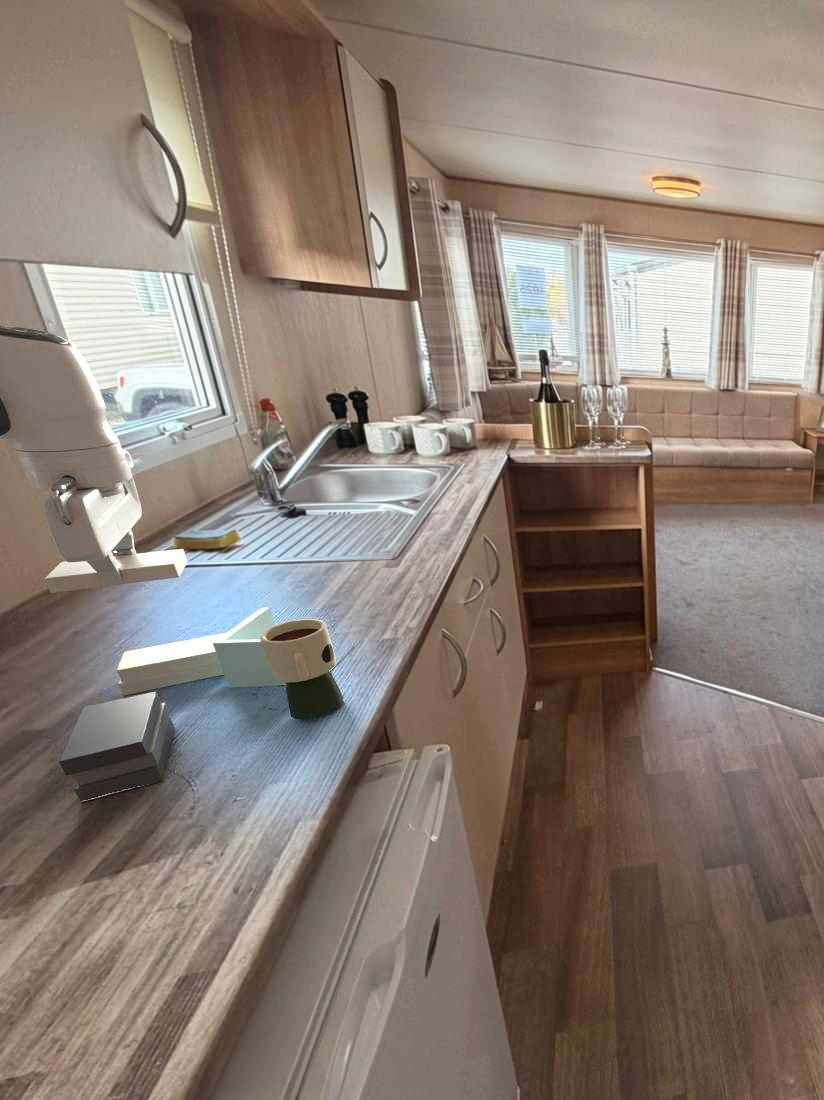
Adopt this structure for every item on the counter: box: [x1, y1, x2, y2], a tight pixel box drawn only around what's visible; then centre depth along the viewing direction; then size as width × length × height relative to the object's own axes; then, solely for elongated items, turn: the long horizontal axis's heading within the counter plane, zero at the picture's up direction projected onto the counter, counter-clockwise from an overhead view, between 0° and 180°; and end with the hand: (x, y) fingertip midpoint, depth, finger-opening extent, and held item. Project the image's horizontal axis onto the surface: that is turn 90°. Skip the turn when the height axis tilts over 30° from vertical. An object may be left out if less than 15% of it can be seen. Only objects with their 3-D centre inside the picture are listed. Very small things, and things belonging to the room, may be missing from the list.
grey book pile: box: [58, 691, 176, 802], centre depth 77 cm, size 13×7×6 cm, turn 37°
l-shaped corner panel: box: [212, 606, 286, 689], centre depth 99 cm, size 12×12×8 cm
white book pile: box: [116, 632, 227, 696], centre depth 96 cm, size 12×7×4 cm, turn 127°
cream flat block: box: [44, 548, 189, 594], centre depth 85 cm, size 12×6×2 cm, turn 123°
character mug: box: [260, 618, 345, 720], centre depth 87 cm, size 11×7×13 cm, turn 37°
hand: (121, 571), depth 85 cm, fingers closed on cream flat block, 6 cm apart
